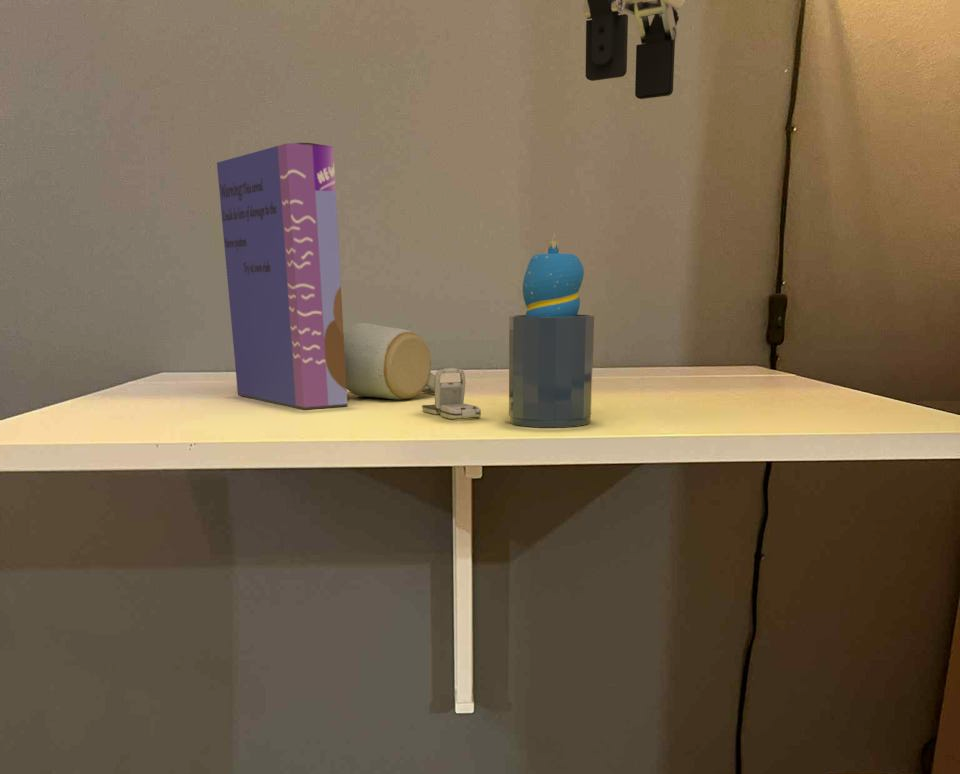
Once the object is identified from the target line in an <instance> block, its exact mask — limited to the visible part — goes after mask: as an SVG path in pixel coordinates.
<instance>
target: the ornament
mask: <svg viewBox="0 0 960 774" xmlns="http://www.w3.org/2000/svg"><path fill="white" fill-rule="evenodd" d="M559 248H560V241H559V240H556V232H553V233H552V237H551V240H550V241H547V253H536V254H534V255H532V257H531V258H530V260H529V262H528V264H527V267H526V270H525V273H524V277H523V280H522V298H523V301H524V304H525V306H526V312H525V315H526V316H525V317H576V316H577V315H579V311H580V307H581V298H580V295H579V292H580V288H581V286H582V284H583V280H584V277H585V276H584V275H585V270H584V266H583V263H582V261H581V259H580V258H579V257H578V256H576V254H573V253H559V250H560V249H559Z"/></svg>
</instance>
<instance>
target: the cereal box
mask: <svg viewBox="0 0 960 774" xmlns="http://www.w3.org/2000/svg"><path fill="white" fill-rule="evenodd" d="M334 150H335V149H334V146H332V145H326V144H319V143H313V142H294V143H293V142H292V143H290V142H289V143H282V144H278V145H276V146H271V147H268V148H265V149H261V150H258V151H254V152H250V153H246V154H243V155H240V156H236V157H232V158H229V159H224V160H221V161H218V162H216V169H217V179H218V191H219V202H220V213H221V223H222V235H223V246H224V256H225V268H226V278H227V279H226V280H227V289H228V301H229V311H230V322H231V323H230V324H231V334H232V335H231V336H232V342H233V343H232V344H233V355H234V366H235V377H236V388H237V396H240V397H243V398H248V399H254V400H258V401H263V402H267V403H271V404H277V405H281V406H286V407H291V408H295V409H297V410H302V411H303V410H304V411H305V410H306V411H307V410H318V409H331V408H342V407H343V408H344V407H348V393H347V392H348V390H347V389H346V371H345V352H344V318H343V299H342V283H341V282H342V281H341V278H342V277H341V264H340V263H341V262H340V260H341V259H340V245H339V244H340V243H339V226H338V223H339V222H338V207H337V188H336V169H335V153H334V152H335V151H334Z"/></svg>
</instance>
